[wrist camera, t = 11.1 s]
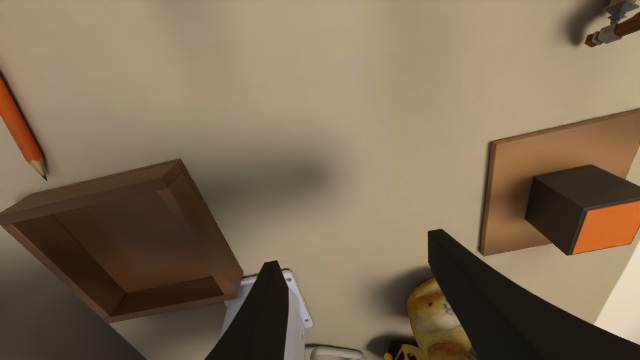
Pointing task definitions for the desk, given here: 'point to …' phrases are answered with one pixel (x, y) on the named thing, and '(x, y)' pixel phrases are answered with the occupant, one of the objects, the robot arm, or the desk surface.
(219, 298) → the walnut box
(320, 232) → the desk surface
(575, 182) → the puzzle cube
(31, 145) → the pencil
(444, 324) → the decorative figurine
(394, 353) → the toy
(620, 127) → the cork mat
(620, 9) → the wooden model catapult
